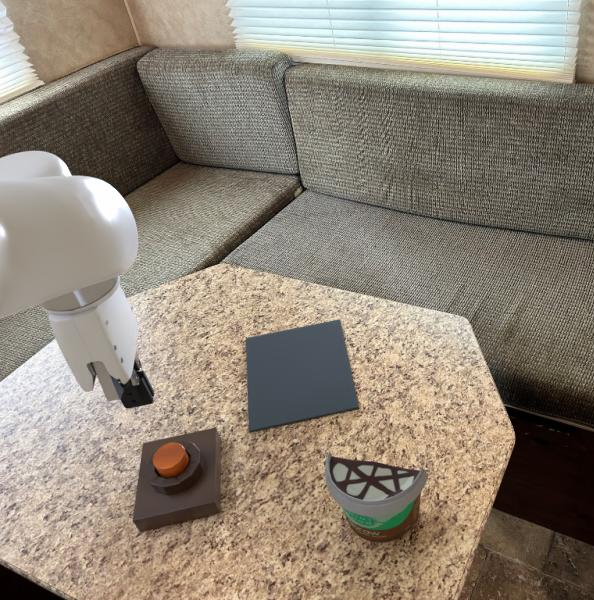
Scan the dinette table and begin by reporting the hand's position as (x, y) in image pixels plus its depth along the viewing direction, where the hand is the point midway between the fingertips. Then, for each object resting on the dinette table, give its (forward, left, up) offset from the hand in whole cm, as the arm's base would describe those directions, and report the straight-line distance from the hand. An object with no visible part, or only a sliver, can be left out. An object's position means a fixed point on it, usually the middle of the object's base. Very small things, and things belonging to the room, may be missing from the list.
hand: (140, 401), depth 71 cm
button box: (0, 0, -16) cm, 16 cm away
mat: (+16, -17, -16) cm, 28 cm away
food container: (-13, -24, -17) cm, 32 cm away
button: (0, 0, -12) cm, 12 cm away
